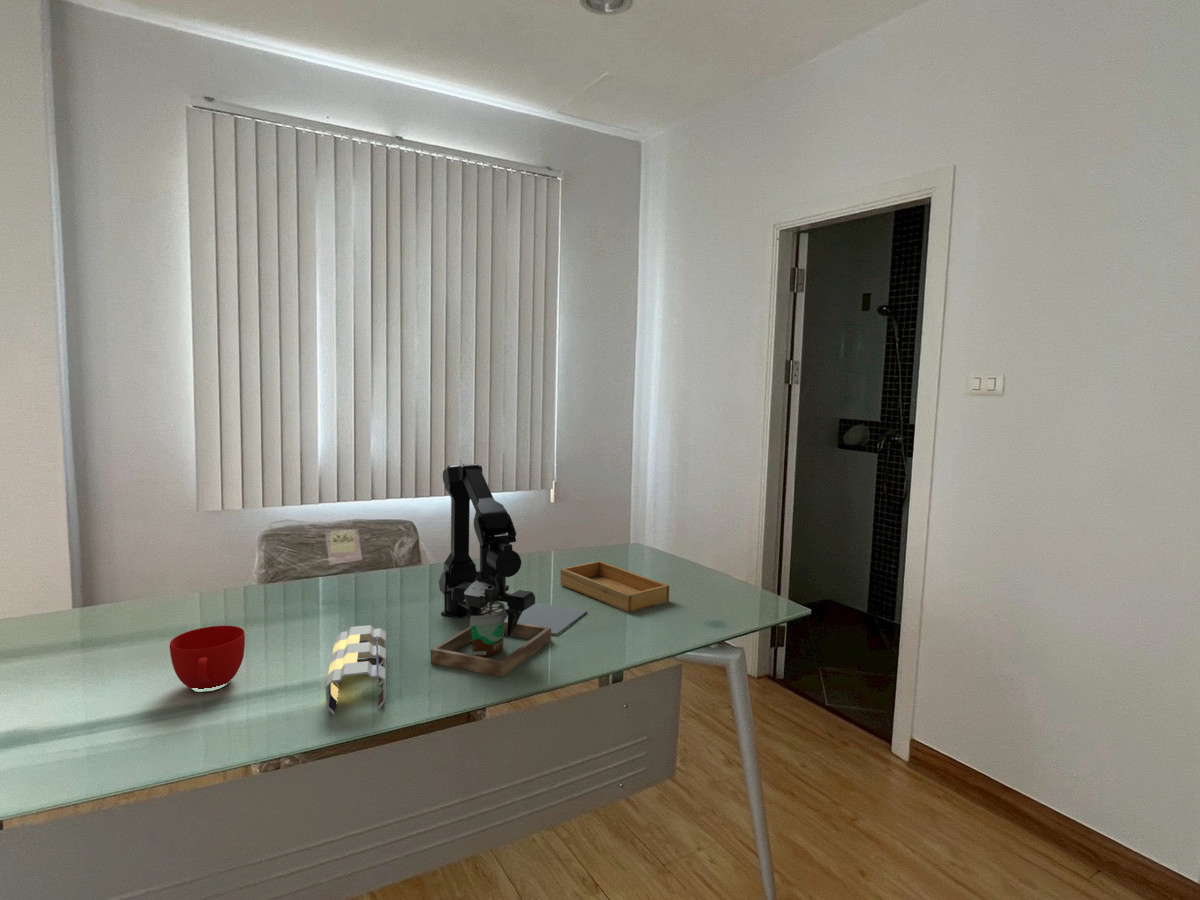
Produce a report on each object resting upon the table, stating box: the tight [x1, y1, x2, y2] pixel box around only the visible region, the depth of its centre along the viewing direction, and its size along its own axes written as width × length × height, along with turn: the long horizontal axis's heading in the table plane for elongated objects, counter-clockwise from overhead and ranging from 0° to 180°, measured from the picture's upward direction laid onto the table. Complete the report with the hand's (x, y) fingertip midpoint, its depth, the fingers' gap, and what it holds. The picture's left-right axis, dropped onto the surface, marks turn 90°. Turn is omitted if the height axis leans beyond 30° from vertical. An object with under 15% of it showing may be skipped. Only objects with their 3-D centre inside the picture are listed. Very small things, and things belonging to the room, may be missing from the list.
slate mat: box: [505, 602, 588, 636], centre depth 175 cm, size 18×18×1 cm
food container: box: [469, 601, 508, 658], centre depth 154 cm, size 12×6×10 cm, turn 168°
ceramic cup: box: [169, 625, 246, 689], centre depth 134 cm, size 13×17×10 cm
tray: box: [559, 560, 670, 614], centre depth 196 cm, size 31×15×6 cm, turn 39°
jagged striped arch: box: [325, 625, 387, 715], centre depth 137 cm, size 25×10×13 cm, turn 17°
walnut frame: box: [430, 620, 552, 678], centre depth 154 cm, size 18×22×3 cm
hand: (493, 633), depth 154 cm, fingers open, 8 cm apart
